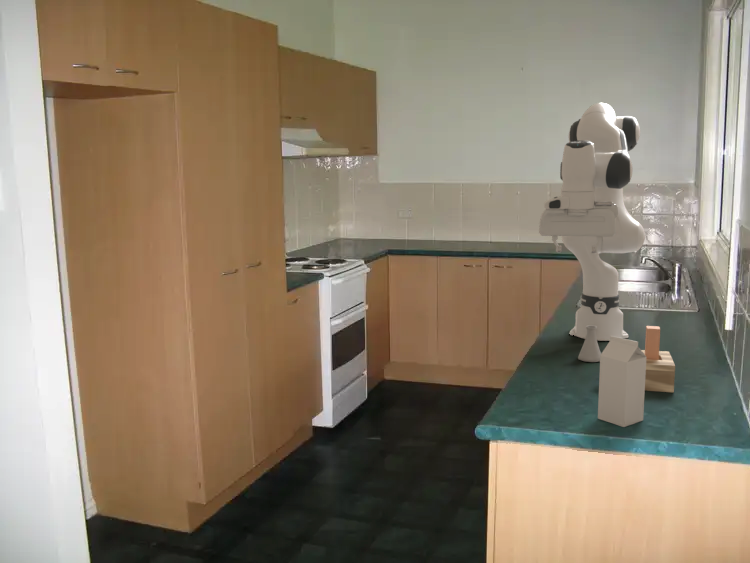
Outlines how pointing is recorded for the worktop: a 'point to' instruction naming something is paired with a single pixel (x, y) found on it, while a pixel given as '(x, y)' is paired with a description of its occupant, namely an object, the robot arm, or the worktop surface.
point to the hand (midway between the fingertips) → (576, 252)
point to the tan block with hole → (660, 373)
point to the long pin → (652, 342)
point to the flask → (590, 346)
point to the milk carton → (622, 382)
